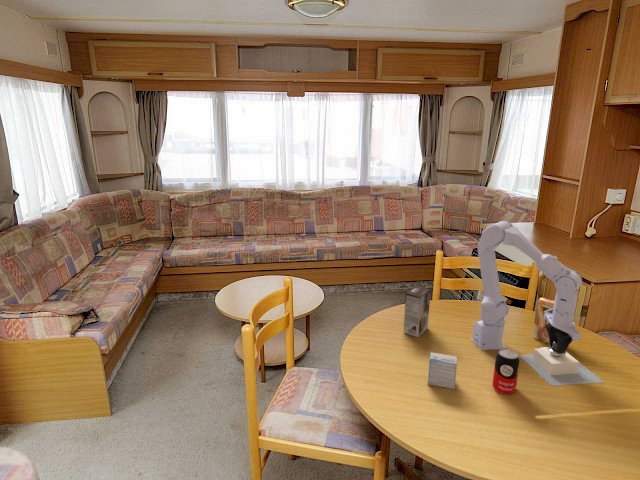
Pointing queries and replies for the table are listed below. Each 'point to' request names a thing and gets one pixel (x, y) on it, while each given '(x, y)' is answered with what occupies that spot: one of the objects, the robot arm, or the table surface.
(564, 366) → the box
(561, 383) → the board
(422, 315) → the coffee box
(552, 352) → the plunger
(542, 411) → the table surface
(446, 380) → the medicine box
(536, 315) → the candy box
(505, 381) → the beverage can
